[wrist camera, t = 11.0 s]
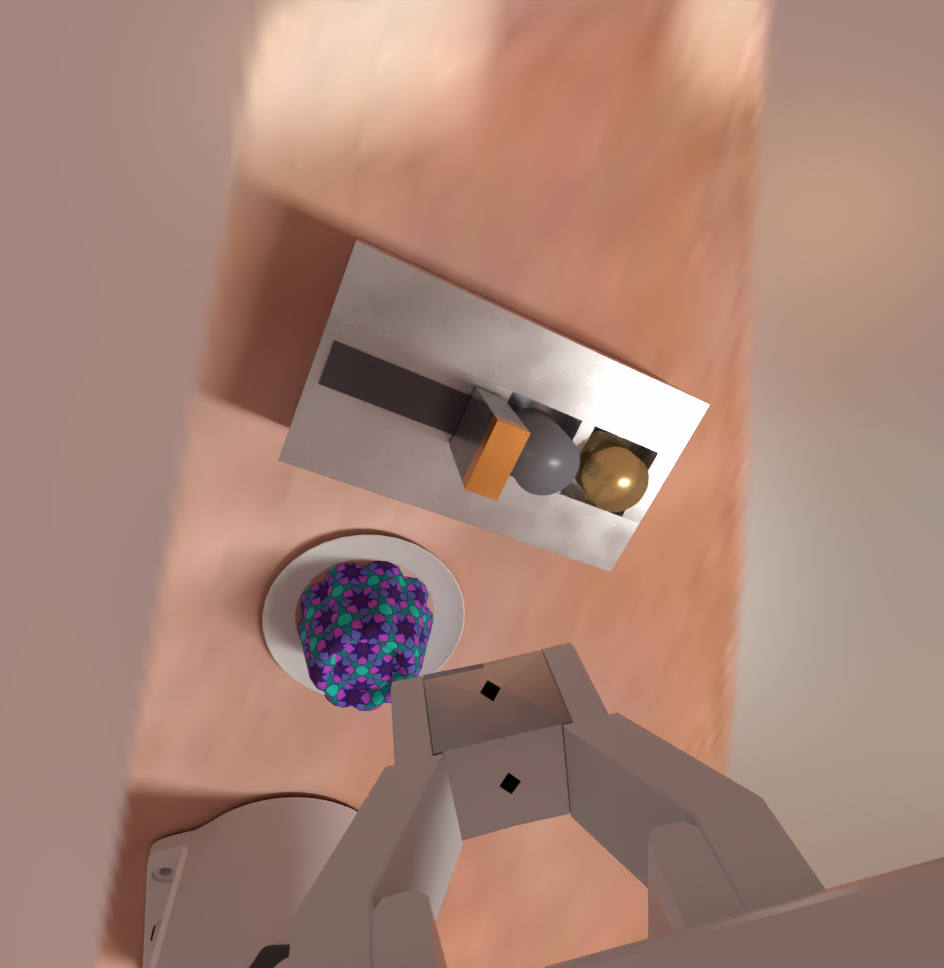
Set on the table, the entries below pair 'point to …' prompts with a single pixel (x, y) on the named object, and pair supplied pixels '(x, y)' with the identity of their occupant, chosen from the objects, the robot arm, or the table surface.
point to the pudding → (362, 619)
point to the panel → (447, 391)
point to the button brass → (611, 473)
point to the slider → (487, 443)
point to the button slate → (545, 455)
